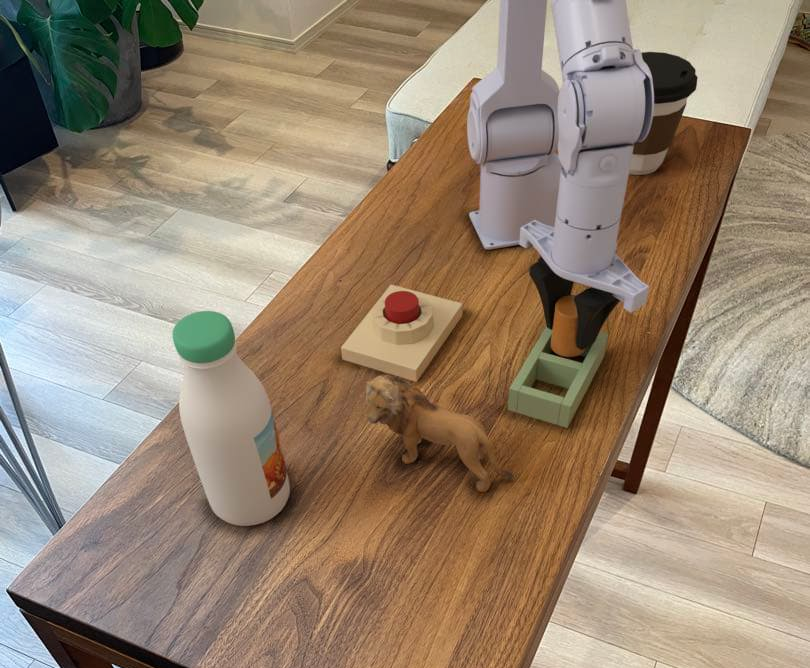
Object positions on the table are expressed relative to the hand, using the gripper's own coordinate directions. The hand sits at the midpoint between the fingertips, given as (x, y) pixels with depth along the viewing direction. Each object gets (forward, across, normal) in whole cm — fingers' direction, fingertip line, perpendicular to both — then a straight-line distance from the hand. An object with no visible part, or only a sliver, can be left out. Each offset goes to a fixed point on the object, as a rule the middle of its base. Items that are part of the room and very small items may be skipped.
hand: (570, 334), depth 85 cm
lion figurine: (+4, -1, +19) cm, 20 cm away
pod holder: (+4, -1, +2) cm, 5 cm away
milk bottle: (+4, +7, +35) cm, 36 cm away
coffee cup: (+4, +22, -36) cm, 43 cm away
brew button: (+1, +15, +10) cm, 18 cm away
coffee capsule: (+1, 0, 0) cm, 1 cm away
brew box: (+4, +15, +10) cm, 19 cm away
